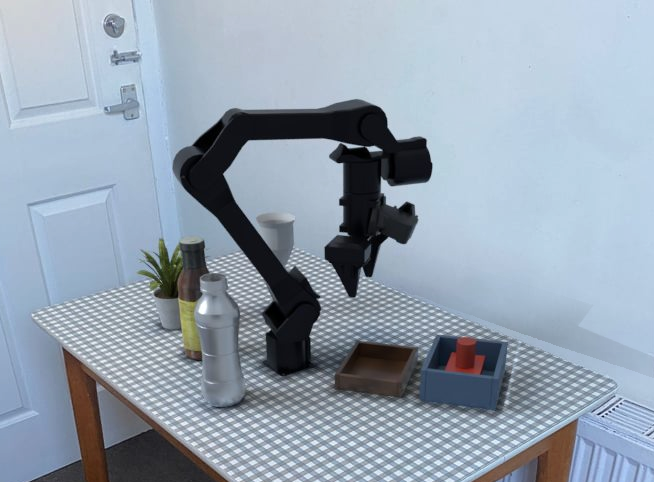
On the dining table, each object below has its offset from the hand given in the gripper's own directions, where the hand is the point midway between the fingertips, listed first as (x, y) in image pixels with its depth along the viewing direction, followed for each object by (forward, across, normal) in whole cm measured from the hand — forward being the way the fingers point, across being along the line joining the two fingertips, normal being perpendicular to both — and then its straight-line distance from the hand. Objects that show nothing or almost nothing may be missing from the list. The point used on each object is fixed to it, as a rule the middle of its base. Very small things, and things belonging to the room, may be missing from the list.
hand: (360, 286), depth 127 cm
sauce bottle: (+12, -7, +26) cm, 30 cm away
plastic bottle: (+12, -21, +15) cm, 29 cm away
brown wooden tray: (+12, -7, -5) cm, 15 cm away
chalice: (+12, +13, +20) cm, 26 cm away
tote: (+12, -7, -18) cm, 23 cm away
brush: (+11, -7, -18) cm, 23 cm away
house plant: (+12, +1, +36) cm, 38 cm away
